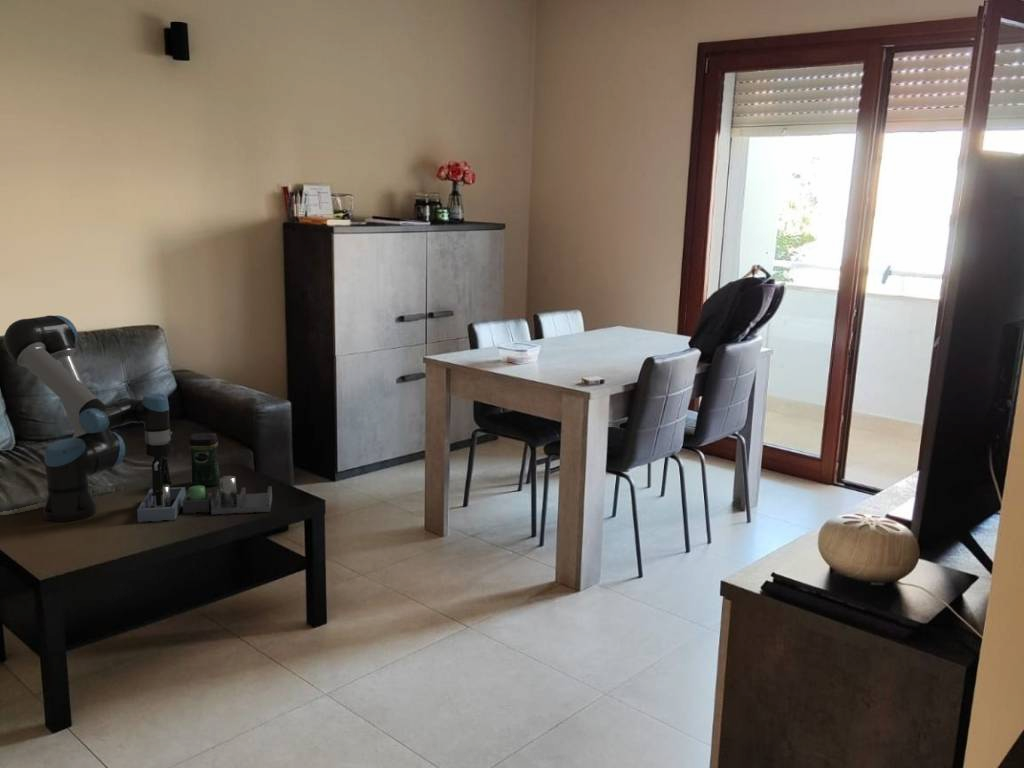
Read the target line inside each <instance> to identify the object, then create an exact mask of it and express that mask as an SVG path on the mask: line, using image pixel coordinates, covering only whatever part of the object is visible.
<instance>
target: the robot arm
mask: <svg viewBox="0 0 1024 768" xmlns="http://www.w3.org/2000/svg"><path fill="white" fill-rule="evenodd" d="M77 338H78V331H77V328H76V326H75V325H74V323H73V322H72V321H71V320H70V319H68V318H67V317H65V316H62V315H44V316H39V317H31V318H30V317H29V318H22V319H18V320H15V321H14V322H12V323H11V324H10V325H8V328H6V330H5V332H4V337H3V342H4V347H5V349H6V351H7V353H8V356H10V358H11V359H12V360H13V361H14V363H16V364H17V365H19V366H20V367H23V368H24V367H25V368H27V370H29V371H30V372H31V373H32V374H33V375H34V376H36V377H37V378H38V379H39V381H41V382H42V383H43V384H44V385H45V386H46V387H48V389H49V390H51V391H52V392H53V394H55V395H56V396H57V397H58V399H60V401H61V403H62V406H63V408H64V410H65V412H66V415H67V419H69V423H70V425H71V428H72V429H73V431H74V432H73V436H72V437H71V438H65V439H60V440H57V441H55V442H52V443H50V444H48V445H47V447H45V450H44V459H43V460H44V466H45V476H46V486H47V496H46V499H45V504H44V506H43V511H42V512H43V518H44V519H45V520H47V521H49V522H50V521H51V522H72V521H77V520H81V519H85V518H88V517H90V516H92V515H94V514H96V513H97V503H96V501H95V498H94V497H93V494H92V492H91V490H90V488H89V476H93V475H95V474H99V473H101V472H105V471H109V470H111V469H112V468H115V467H117V466H119V464H121V463H122V461H123V459H124V457H125V455H126V454H125V453H126V446H125V441H124V440H123V438H122V436H121V435H119V434H118V433H117V432H113V431H111V429H113V428H116V427H120V426H125V425H127V424H130V423H132V424H133V423H135V424H144V425H143V426H144V438H145V439H144V440H145V441H144V442H145V452H146V455H147V456H148V457H152V458H153V460H152V463H151V472H152V473H151V474H152V475H151V477H152V479H151V480H152V489H153V493H152V494H151V495H152V496H154V500H155V508H165V507H164V494H163V484H168V485H172V481H171V478H170V477H171V476H170V469H169V462H168V461H169V460H168V455H171V454H172V442H171V435H172V434H173V431H171V425H170V406H169V405H170V404H169V399H168V396H167V395H166V394H165V393H149V394H145V395H144V396H142V399H136V398H131V397H130V398H128V397H119V398H114V400H113V401H112V402H111V403H107V404H105V403H103V401H101V400H100V399H99V398H98V397H97V396H96V395H95V394H94V393H93V392H92V391H90V390H89V389H88V388H87V385H86V383H85V380H84V378H83V376H82V373H81V370H80V368H79V366H78V363H77V361H76V359H75V353H76V351H77V348H76V345H77V342H78V339H77ZM156 491H157V492H156Z"/></svg>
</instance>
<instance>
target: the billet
mask: <svg viewBox="0 0 1024 768" xmlns="http://www.w3.org/2000/svg"><path fill="white" fill-rule="evenodd" d="M170 485H171V484H163V494H164V507H172V504H171V501H172V500H170V488H171V487H170ZM156 492H157V491H156ZM153 508H155V500H154V502H153Z"/></svg>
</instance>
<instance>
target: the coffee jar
mask: <svg viewBox="0 0 1024 768" xmlns="http://www.w3.org/2000/svg"><path fill="white" fill-rule="evenodd" d="M218 441H219V440H218V435H217V433H215V432H212V433H210V432H209V433H208V432H203V433H199V432H198V433H193V434H191V435H190V436H189V439H188V448H189V450H190V455H191V472H190V473H191V475H190V476H191V477H190V480H191V481H190V482H191V485H192V486H205V487H212V486H215V485H220V478H221V474H220V468H219V462H218V455H217V453H218V452H217V450H218V446H219V442H218Z"/></svg>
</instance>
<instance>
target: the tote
mask: <svg viewBox="0 0 1024 768" xmlns="http://www.w3.org/2000/svg"><path fill="white" fill-rule="evenodd" d="M152 493H153V488H150V489H149V490H148V492H147V494H146V495H145V497H144V498H143V500H142V501H141V503H140V505H139V506H138V508H137V509H136V512H137V513H136V514H137V515H136V516H137V523H148V522H147V521H152V522H163V521H162V520H169V521H175V519H177V518H176V517H178V516H177V515H179V513H180V511H181V509H182V508H183V500H184V498H185V496H186V494H187V493H186V487H185V486H184V487H183V486H181V487H170V500H171V501H173V500H172V499H176V500H174V502H173V504H171V507H165V508H154V507H152V505H153V504H154V502H153V501H154V496H152V495H151V494H152ZM152 503H153V504H152ZM150 506H151V507H150ZM143 521H145V522H143Z"/></svg>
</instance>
